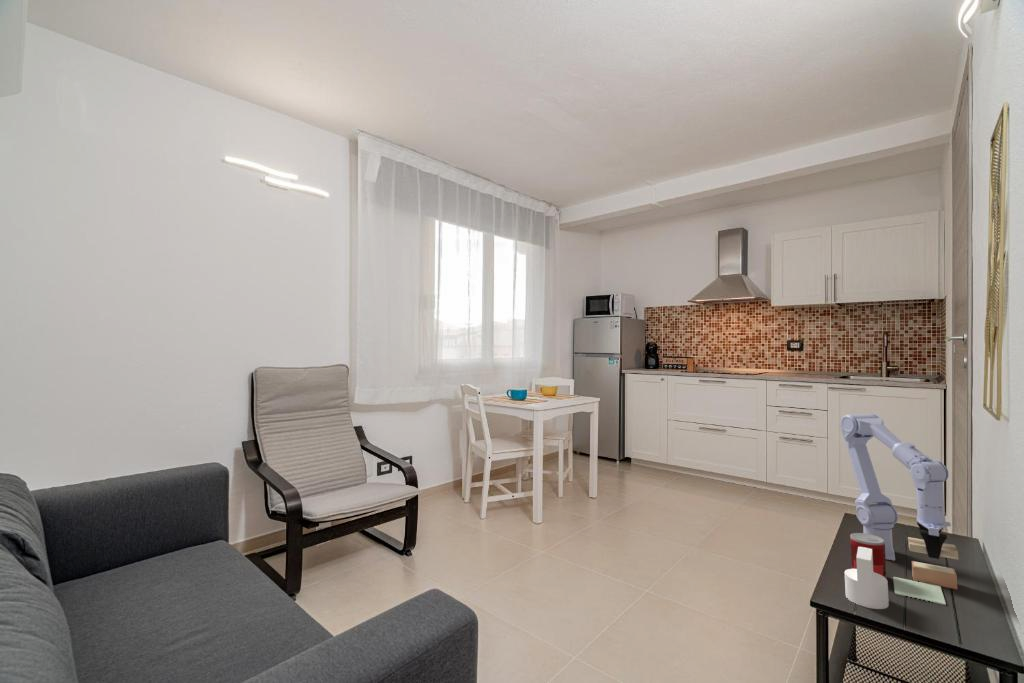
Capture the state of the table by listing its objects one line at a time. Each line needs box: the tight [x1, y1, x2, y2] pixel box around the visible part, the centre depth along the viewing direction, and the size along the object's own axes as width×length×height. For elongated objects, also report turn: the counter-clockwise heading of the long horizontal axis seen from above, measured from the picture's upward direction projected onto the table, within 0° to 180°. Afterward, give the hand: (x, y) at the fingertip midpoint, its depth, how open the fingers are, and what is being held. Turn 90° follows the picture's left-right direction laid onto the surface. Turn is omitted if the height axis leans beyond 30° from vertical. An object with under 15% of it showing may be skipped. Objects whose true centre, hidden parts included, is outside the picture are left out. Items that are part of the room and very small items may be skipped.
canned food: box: [849, 532, 887, 579], centre depth 134 cm, size 8×8×11 cm
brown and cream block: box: [911, 560, 958, 590], centre depth 130 cm, size 4×9×4 cm, turn 53°
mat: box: [892, 576, 947, 606], centre depth 126 cm, size 11×10×1 cm
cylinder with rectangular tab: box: [844, 547, 890, 610], centre depth 122 cm, size 9×9×12 cm
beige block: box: [907, 536, 959, 561], centre depth 131 cm, size 6×10×2 cm, turn 53°
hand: (932, 553), depth 131 cm, fingers closed on beige block, 6 cm apart
